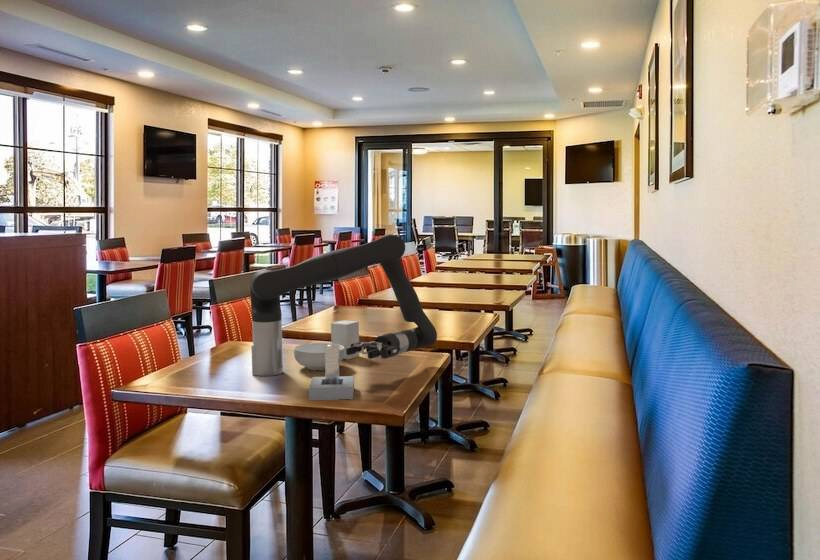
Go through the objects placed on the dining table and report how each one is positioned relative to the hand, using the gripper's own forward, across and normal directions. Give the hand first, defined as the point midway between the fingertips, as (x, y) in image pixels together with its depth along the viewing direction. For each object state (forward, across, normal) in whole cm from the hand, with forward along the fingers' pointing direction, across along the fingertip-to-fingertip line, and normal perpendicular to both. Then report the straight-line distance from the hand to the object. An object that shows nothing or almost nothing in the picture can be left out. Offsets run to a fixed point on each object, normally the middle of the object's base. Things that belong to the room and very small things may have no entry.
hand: (357, 353), depth 193 cm
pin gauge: (+11, 0, +10) cm, 15 cm away
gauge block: (+11, 0, +10) cm, 15 cm away
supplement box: (-27, -29, +10) cm, 41 cm away
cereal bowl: (-9, -25, +10) cm, 29 cm away
